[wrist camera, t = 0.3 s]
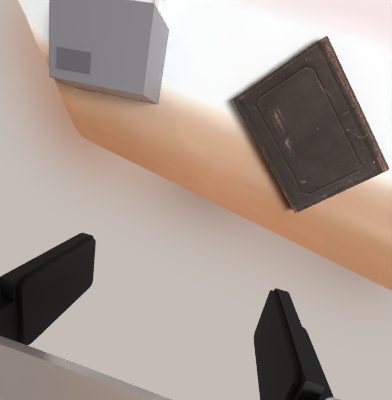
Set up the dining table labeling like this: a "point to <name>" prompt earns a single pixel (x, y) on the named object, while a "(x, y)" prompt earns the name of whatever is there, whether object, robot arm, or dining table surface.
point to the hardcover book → (311, 128)
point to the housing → (108, 46)
